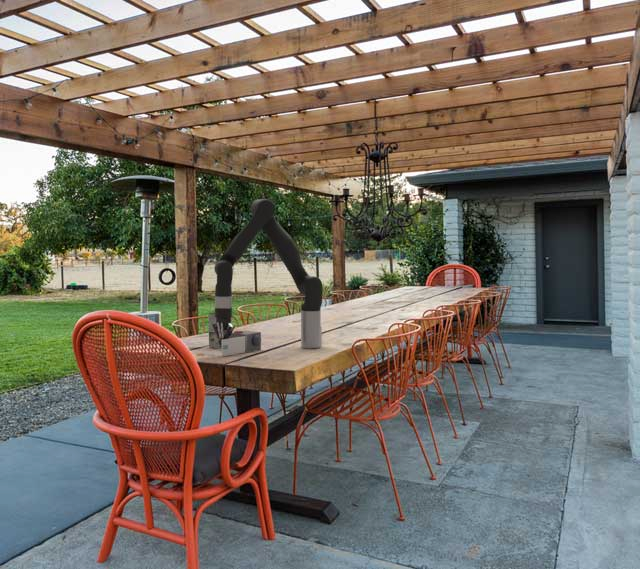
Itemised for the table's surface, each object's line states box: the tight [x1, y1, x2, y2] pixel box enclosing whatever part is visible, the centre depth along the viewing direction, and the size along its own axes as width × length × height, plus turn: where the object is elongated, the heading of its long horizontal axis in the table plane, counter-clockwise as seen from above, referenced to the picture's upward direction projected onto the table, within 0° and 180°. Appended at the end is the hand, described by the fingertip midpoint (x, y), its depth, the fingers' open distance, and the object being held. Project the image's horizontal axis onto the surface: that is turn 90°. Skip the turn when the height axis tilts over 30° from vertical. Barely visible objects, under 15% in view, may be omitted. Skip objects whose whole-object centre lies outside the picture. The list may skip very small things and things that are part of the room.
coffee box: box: [208, 312, 232, 349], centre depth 266 cm, size 9×6×16 cm
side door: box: [221, 336, 248, 357], centre depth 244 cm, size 2×13×7 cm, turn 136°
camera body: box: [230, 330, 262, 353], centre depth 256 cm, size 10×11×9 cm
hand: (223, 346), depth 244 cm, fingers closed
